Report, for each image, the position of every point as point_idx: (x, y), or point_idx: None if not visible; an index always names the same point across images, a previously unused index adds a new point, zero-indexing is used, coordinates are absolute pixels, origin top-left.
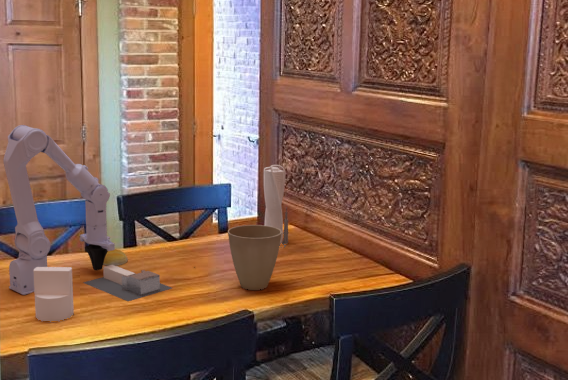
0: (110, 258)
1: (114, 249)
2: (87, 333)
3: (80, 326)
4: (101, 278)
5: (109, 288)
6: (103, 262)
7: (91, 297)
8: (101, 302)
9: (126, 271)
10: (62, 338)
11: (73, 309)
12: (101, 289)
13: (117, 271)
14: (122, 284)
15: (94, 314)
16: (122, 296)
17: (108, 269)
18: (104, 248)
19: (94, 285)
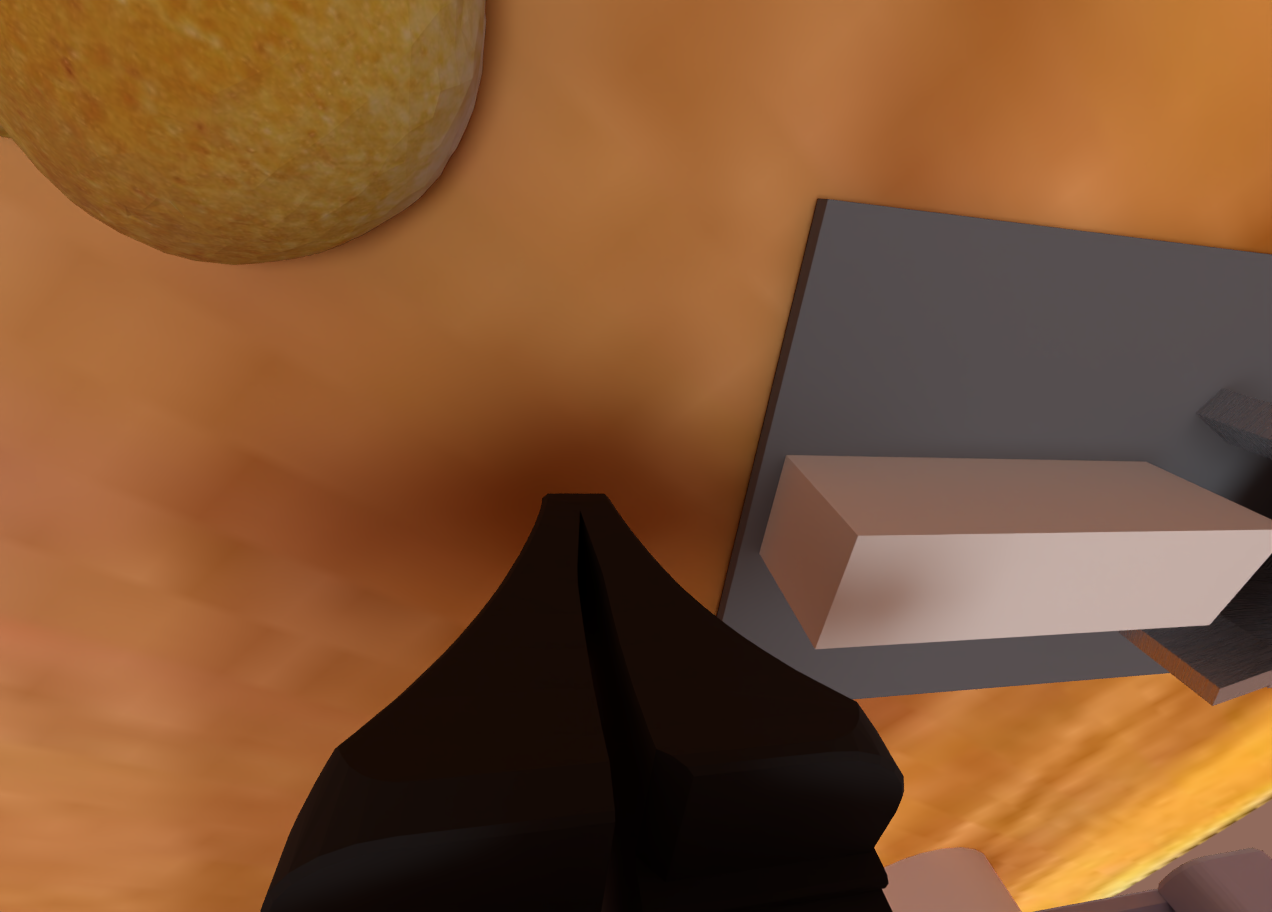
0: (340, 159)
1: (1265, 860)
2: (1123, 860)
3: (1070, 860)
4: (756, 577)
5: (974, 645)
6: (635, 537)
7: (930, 749)
8: (1027, 742)
9: (1163, 559)
10: (1059, 906)
11: (991, 875)
12: (930, 686)
13: (1061, 622)
14: (1128, 634)
15: (1068, 805)
16: (1132, 657)
17: (909, 636)
18: (857, 857)
19: (829, 683)
